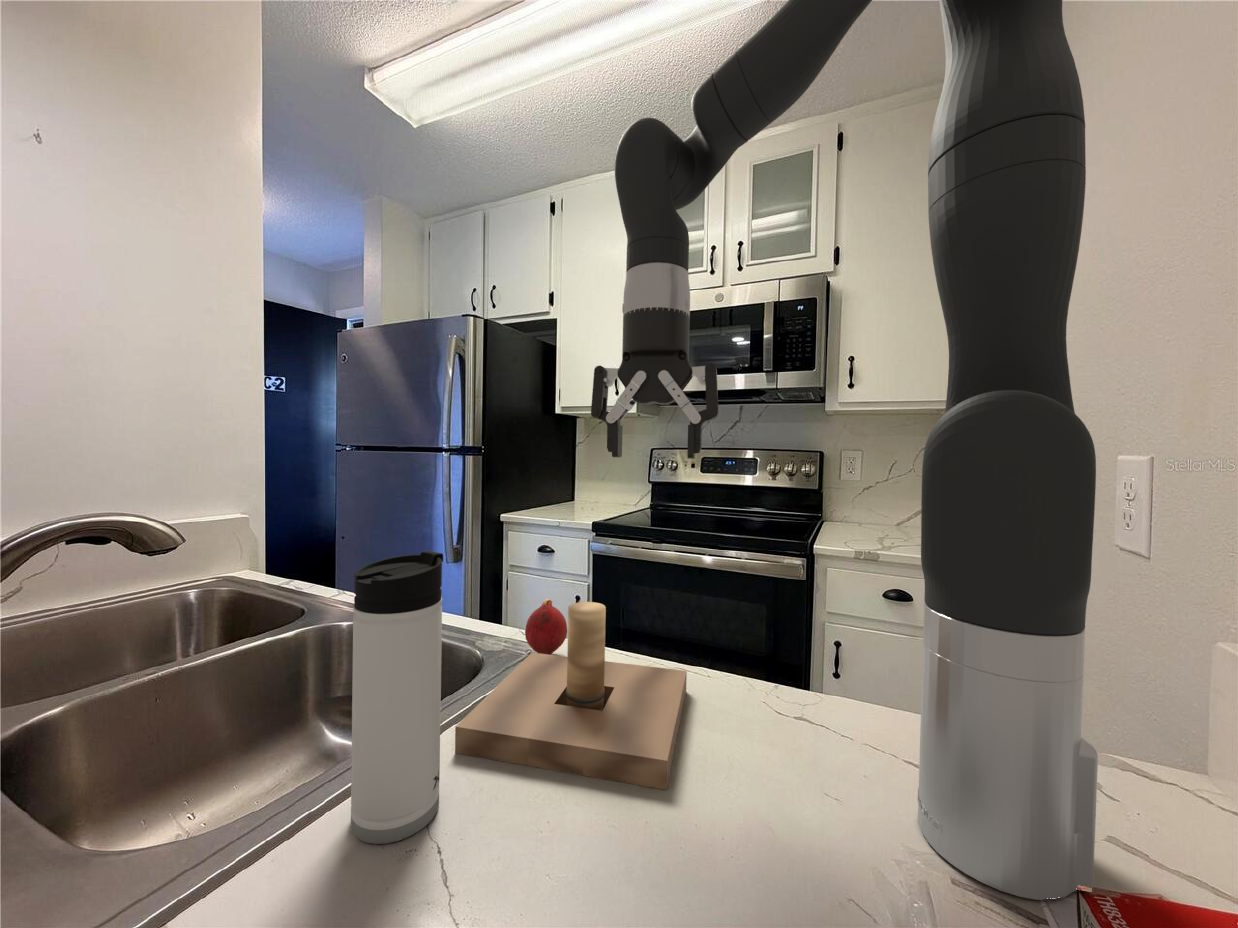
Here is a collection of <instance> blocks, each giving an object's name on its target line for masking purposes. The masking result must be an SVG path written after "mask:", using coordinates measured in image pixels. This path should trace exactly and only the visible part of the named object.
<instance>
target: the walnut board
mask: <svg viewBox="0 0 1238 928" xmlns="http://www.w3.org/2000/svg"><path fill="white" fill-rule="evenodd" d="M687 674H688V671H687V670H684V669H683V670H682V669H672V668H667V667H665V668H664V667H657V666H648V665H639V664H631V663H625V662H624V663H623V662H622V663H621V662H616V661H607V660H605V673H604V688H605V695H604V707H603V708H602V710H593V709H586V708H579V707H572V706H567V696H566V689H567V656H564V655H558V654H557V655H555V654H551V655H548V654H540V653H537V652H531V653H530V654H528V656H526V658H525V659H524V660H522V662H521V663H519V664H518V665H517V666H516V667H515V668H514V669H513V670H512V671H511V672H510V673H509V674H508V675H507V676H506V677H504V679H503V680H502V681H501V682H500V683H499V684H498V685H497V686H496V687H494V689H493V690H492V691H491V692H489V693H488V694H487V695H486V696H485V697H484V698H483V700H481V701H480V702H479V703H478V704H477V705H476V706H475V707H474V708H472V710H470V712H469V713H468V714H467V715H466V716H465V717H463V719H461V720H460V722H458V723H457V724H456V725H455V729H454V731H455V733H454V753H455V754H460V755H465V756H471V757H476V758H483V759H488V760H493V761H498V762H505V763H511V764H517V765H523V766H528V767H532V768H533V767H534V768H539V769H545V770H551V771H556V772H562V773H569V774H573V775H580V776H585V777H590V778H597V779H603V780H608V781H615V782H620V783H624V784H629V785H630V784H631V785H637V786H641V787H642V786H643V787H647V788H654V789H660V790H666V791H667V790H668V785H669V779H670V775H671V770H672V765H673V761H674V760H673V759H674V755H675V751H676V745H677V740H678V735H679V730H680V724H681V720H682V714H683V709H684V705H685V698H686V694H687Z"/></svg>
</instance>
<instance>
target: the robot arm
mask: <svg viewBox="0 0 1238 928" xmlns="http://www.w3.org/2000/svg"><path fill="white" fill-rule="evenodd" d="M872 1H873V0H787V1H786V2H785V3H784V5H783V6H781V8H780V9H779V10H778V11H777V12H776V13H775V14H774V15H773V16H772V17H771V18H770V19H768V21H767V22H765V24H764V25H763V26H762V27H761V28H759V30H758V31H757V32H755V34H753V36H751V37H750V38H749V39H748V40H747V41H745V43H743V45H741V46H740V47H739V48H738V49H737V50H736V51H735V52H734V53H733V54H731V55H730V56H729V57H728V58H727V59H726V60H725V61H724V62H722V63H721V64H720V65H719V66H718V67H717V68H716V69H715V70H714V72H712V73H711V74H710V75H709V76H708V77H707V78H706V79H704V80H703V81H702V82H701V84H700V85H699V86H698V87H697V88H696V90H695V91H694V93H693V95H692V98H691V104H690V105H691V111H692V116H693V119H694V122H695V124H696V126H695V127H694V129H693V130H692V132H691V133H690V134H689V136H687V138H685V139H684V140H683V139H682V138H681V137H680V136H679V135H677V133H676V132H675V131H673V129H671V128H670V127H669V126H668V125H667V124H666V123H664V122H663V121H661V120H659V119H657V118H655V117H650V116H649V117H641V118H639V119H637V120H634V121H633V122H632V123H631V124H629V126H628V127H627V128H626V129H625V131H624V132H623V134H622V136H621V137H620V140H619V143H618V144H617V149H616V153H615V157H614V181H615V186H616V194H617V196H618V203H619V208H620V212H621V217H622V222H623V225H624V229H625V232H626V240H627V241H626V262H625V263H626V272H625V273H626V274H625V281H624V288H623V300H622V301H623V302H622V311H621V312H622V351H621V356H622V359H621V363H620V365H619V367H618V368H616V367H615V368H614V367H604V366H602V365H597V366H594V367H595V368H594V370H593V379H592V380H593V383H592V391H591V393H592V396H591V406H590V410H591V411H590V416H591V417H593V418H595V419H598V420H600V421H603V422H605V424H606V427H607V430H606V448H607V452H608V453H611V457H612V458H622V456H623V425H621V422H622V421H623V420H624V419H625V417H626V415H627V414H628V413H629V412H630V411H631V410H633V408H634V406H635V405H636V404H637V403H638V404H640V405H641V406H650V405H654V404H657V405H661V406H670V405H671V404H673V403H674V402H676V403H677V405H678V406H679V408H680V409H681V410H682V412H683V413H684V415H686V417H687V419H689V424H687V451H686V452H687V453H686V455H687V459H695V458H696V454H700V453H701V450H702V431H703V429H702V428H703V425H704V424H705V423H707V422H710V421H712V420H716V419H717V418H718V417H719V397H718V396H719V395H718V393H719V392H718V388H719V387H718V372H717V371H718V370H717V366H716V364H715V363H713V362H708V363H706V364H705V365H701V366H692V365H691V363H690V357H689V356H690V325H691V324H690V319H691V317H690V316H691V309H690V308H691V289H690V288H691V287H690V280H689V277H690V276H689V259H690V235H689V230H688V227H687V225H686V223H685V221H684V219H683V218H682V217H681V216H680V214H679V213H678V210H680V209H683V208H685V207H687V206H689V205H690V204H691V203H692V202H694V201H695V200H696V199H697V198H698V197H699V196H700V195H701V194H702V193H704V191H705V189H706V188H707V187H708V186H709V185H710V183H711V182H712V181H713V180H714V179H715V177H716V176H717V175H718V174H719V172H721V170H723V168H724V167H725V166H726V164H727V163H728V162H729V160H730V159H731V158H732V156H733V155H734V154H735V152H736V151H737V150H738V149H739V148H741V147H742V146H744V145H745V144H746V143H748V141H750V140H751V139H753V138H754V137H755V136H757V135H758V134H759V133H760V132H762V131H763V130H765V128H767V127H768V126H770V124H772V123H773V122H775V121H776V120H777V119H778V118H779V117H781V116H782V115H783V114H784V113H785V112H787V111H788V110H789V109H790V108H791V107H792V106H793V105H794V104H795V103H796V102H797V101H798V100H799V99H800V98H801V97H802V96H803V95H804V93H806V91H807V90H808V89H809V88H810V87H811V85H812V84H813V83H814V81H815V80H816V78H817V77H818V76H819V74H820V73H821V72H822V70H823V68H824V67H825V65H826V64H827V62H829V60H830V59H831V57H832V55H833V54H834V53H835V51H836V49H837V47H838V46H839V44H840V43H841V42H842V40H843V38H844V37H845V36H846V35H847V33H848V32H849V30H850V29H851V27H852V26H853V24H855V22H856V21H857V20H858V19H859V17H860V16H861V15H862V14H863V12H864V11H865V10H866V9H867V7H868V6H869V4H871V2H872ZM938 5H939V11H940V17H941V23H942V33H943V34H942V35H943V44H944V55H945V64H944V65H945V66H944V67H945V69H944V79H943V86H942V90H941V94H940V97H939V100H938V101H939V102H938V105H937V108H936V112H935V117H934V122H933V125H932V130H931V131H932V132H931V136H930V143H929V152H928V164H927V166H928V168H927V170H928V171H927V186H928V188H927V190H928V191H927V193H928V194H927V195H928V196H927V198H928V199H927V200H928V204H927V205H928V206H927V207H928V209H927V210H928V211H927V212H928V226H929V227H928V228H929V239H930V249H931V256H932V263H933V271H934V276H935V281H936V286H937V292H938V296H939V300H940V301H939V302H940V306H941V310H942V313H943V314H942V315H943V319H944V322H945V323H944V324H945V329H946V336H947V346H948V374H947V387H946V399H945V407H944V414H943V415H942V416H941V417H940V418H939V419H938V421H936V423H935V424H934V425H933V427H932V428H931V430H930V432H929V433H928V437H927V439H926V442H925V446H924V451H923V457H922V466H921V467H922V469H921V502H920V503H921V504H920V506H921V510H920V511H921V517H920V519H921V520H920V525H921V526H920V528H921V529H920V532H921V533H920V536H921V537H920V561H921V562H920V563H921V569H922V573H923V580H924V596H923V597H924V604H923V633H922V640H923V641H922V663H921V664H922V665H921V666H922V667H921V670H922V671H921V695H920V696H921V699H920V700H921V701H920V702H921V703H920V726H919V727H920V729H919V730H920V732H919V733H920V736H919V761H918V763H919V764H918V767H919V768H918V769H919V770H918V787H917V824H918V827H919V829H920V832H921V834H922V835H923V837H924V839H925V840H926V841H927V843H928V844H929V845H930V846H931V847H932V848H933V850H934V851H935V852H936V853H937V854H939V855H940V856H941V857H942V858H944V859H945V860H946V861H947V862H948V863H949V864H950V865H952V866H954V867H955V868H956V869H958V870H960V871H961V872H962V873H964V874H966V875H967V876H969V877H971V878H973V879H975V880H976V881H978V882H980V883H982V884H985V885H986V886H988V887H992V888H994V889H996V890H998V891H1000V892H1004V893H1007V894H1009V895H1012V896H1013V895H1014V896H1016V897H1020V898H1024V899H1029V900H1030V899H1031V900H1036V901H1044V900H1043V899H1047V898H1048V899H1050V898H1051V899H1052V898H1058V897H1060V899H1064V898H1065V897H1067V896H1068V895H1071V894H1072V893H1074V892H1077V891H1076V888H1077V886H1078V885H1081V886H1086V887H1089V888H1093V889H1094V875H1095V874H1094V873H1095V872H1094V871H1095V848H1096V847H1095V845H1096V841H1095V840H1096V825H1097V823H1096V822H1097V821H1096V819H1097V817H1096V816H1097V798H1098V797H1097V795H1098V794H1097V793H1098V792H1097V791H1098V771H1099V770H1098V768H1099V755H1098V752H1097V750H1096V748H1095V747H1094V746H1093V745H1092V744H1091V743H1090V742H1088V741H1087V740H1086V739H1085V738H1083V736H1082V728H1083V726H1082V725H1083V721H1082V720H1083V702H1084V701H1083V698H1084V668H1085V667H1084V664H1085V640H1086V639H1085V637H1086V636H1085V635H1086V630H1085V629H1086V614H1087V606H1088V605H1087V604H1088V598H1089V597H1088V596H1089V594H1090V589H1091V581H1092V564H1093V563H1092V561H1093V544H1094V528H1095V527H1094V525H1095V509H1096V507H1095V506H1096V487H1097V486H1096V484H1097V483H1096V481H1097V460H1096V459H1097V456H1096V450H1095V448H1096V447H1095V443H1094V440H1093V437H1092V435H1091V433H1090V431H1089V429H1088V428H1087V426H1086V423H1084V422H1083V420H1082V419H1081V418H1080V417H1079V416H1078V415H1077V414H1076V412H1075V408H1074V407H1075V406H1074V402H1073V395H1072V394H1073V393H1072V386H1071V377H1070V370H1069V361H1068V348H1067V324H1068V323H1067V322H1068V317H1069V315H1068V314H1069V306H1070V301H1071V297H1072V290H1073V285H1074V280H1075V274H1076V270H1077V269H1076V268H1077V265H1078V264H1077V263H1078V258H1079V251H1080V244H1081V235H1082V229H1083V219H1084V209H1085V197H1086V196H1085V195H1086V184H1087V181H1086V179H1087V178H1086V177H1087V174H1086V173H1087V169H1086V167H1087V165H1086V162H1087V161H1086V121H1085V120H1086V117H1085V108H1084V106H1085V105H1084V100H1083V99H1084V98H1083V93H1082V88H1081V87H1082V86H1081V83H1080V82H1081V81H1080V76H1079V74H1078V70H1077V65H1076V63H1075V59H1074V56H1073V52H1072V51H1071V48H1070V45H1069V42H1068V39H1067V36H1066V32H1065V31H1066V30H1065V27H1064V19H1063V0H938ZM693 377H695V378H696V379H697V381H698V384H699V385H701V386H702V387H705V405H706V408H705V409H703V410H700V411H698V410H697V408H695V406H694V405H693V404H692V402H691V401H690V399H688V397H687V395H686V394H685V392H683V391H684V390H685V388H686V387H687V386H688V385H689V383H690V382H691V380H692V379H693ZM617 379H619V381H620V382H621V384H622V385H623V387H624V388H625V389H624V390H623V391H622V392H621V394H620V395H619V397H618V398H617V399H616V402H615V404H614V405H613V406H612V408H611V409H610V410H609V411H608V408H607V407H608V399H609V398H608V397H609V388H611V387H612V386H613V385H614V383H615V380H617ZM1061 897H1063V898H1061Z"/></svg>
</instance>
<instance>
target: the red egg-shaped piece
mask: <svg viewBox="0 0 1238 928" xmlns="http://www.w3.org/2000/svg"><path fill="white" fill-rule="evenodd" d="M524 634H525V635H524V636H525V640H526V642H527V645H528V646H529V647H530V648H531V650H533V651H534V653H540V654H548V655H553V653H555V652H556V651H557V650H559V649H560V647H561V646H562V645H563V644H564V642H565V640H566V639H567V637H568V623H567V620H566V618H565V616H564V614H563V613H562V611H560V610H559V609H558V608H556V607H555V606H553V600H552V599H550V598H546V599H544V600H543V602H542V604H541V606H539V607H538V608H537V609H535V610H534V611H532V612H531V614H530V615H529V617H528V619H527V622H526V625H525V631H524Z"/></svg>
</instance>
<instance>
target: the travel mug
mask: <svg viewBox="0 0 1238 928" xmlns="http://www.w3.org/2000/svg"><path fill="white" fill-rule="evenodd" d="M443 562H444V554H443V553H441V552H436V551H431V550H427V551H422V552H420V553H419V554H405V555H398V556H392V557H388V558H384V559H383V558H382V559H380V560H377V561H374V562H371V563H368V564H366V565H364V566H361V568H359V569H357V570H356V571H355V573H354V584H353V585H354V595H355V596H354V598H353V599H354V600H353V602H354V603H353V606H352V607H353V609H352V611H353V612H352V613H353V617H352V618H353V619H352V684H351V685H352V688H351V689H352V691H351V692H352V694H351V695H352V699H351V700H352V701H351V706H352V707H351V765H350V766H351V777H350V778H351V781H350V783H351V786H350V805H351V806H350V829H351V831H352V834H353V835H354V836H355V837H356V838H357V839H359V840H360V841H362V842H364V843H367V844H375V845H376V844H377V845H380V844H381V845H382V844H383V845H384V844H391V843H396V842H398V841H402V840H404V839H406V838H409V837H411V836H412V835H415V834H416V833H418V832H419V831H421V830H423V828H425V827H426V826H427V825H428V824H429V823H430V822H431V821H432V820H433V819H434V816H436V814H437V812H438V809H439V806H440V781H441V780H440V779H441V778H440V771H441V769H440V768H441V760H440V759H441V711H442V710H441V708H442V707H441V703H442V702H441V698H442V639H443V638H442V637H443V636H442V635H443V634H442V632H443V631H442V630H443V626H442V625H443V622H442V621H443V607H442V605H443V596H442V589H441V587H442V584H443V579H442V578H443V575H442V574H443Z"/></svg>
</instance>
